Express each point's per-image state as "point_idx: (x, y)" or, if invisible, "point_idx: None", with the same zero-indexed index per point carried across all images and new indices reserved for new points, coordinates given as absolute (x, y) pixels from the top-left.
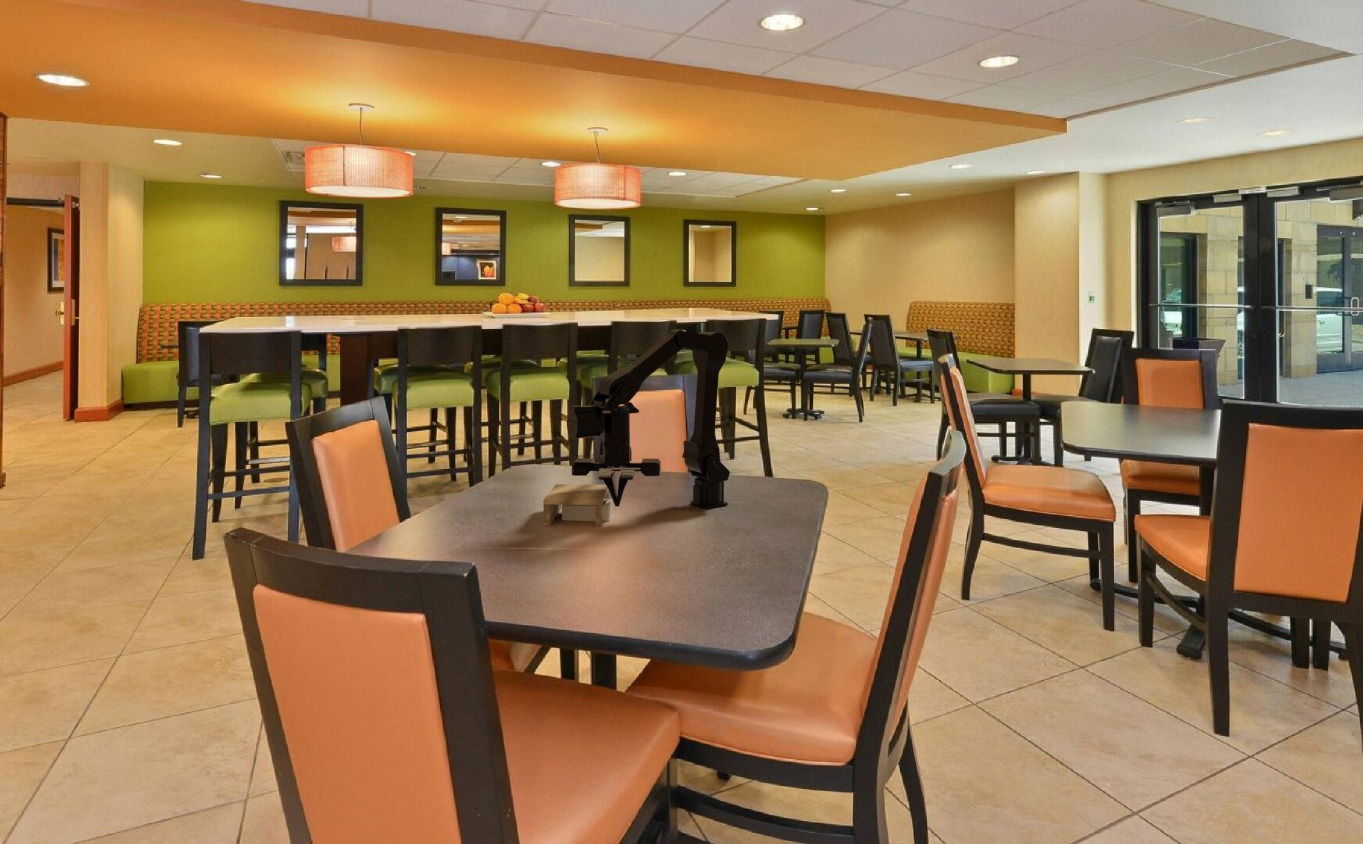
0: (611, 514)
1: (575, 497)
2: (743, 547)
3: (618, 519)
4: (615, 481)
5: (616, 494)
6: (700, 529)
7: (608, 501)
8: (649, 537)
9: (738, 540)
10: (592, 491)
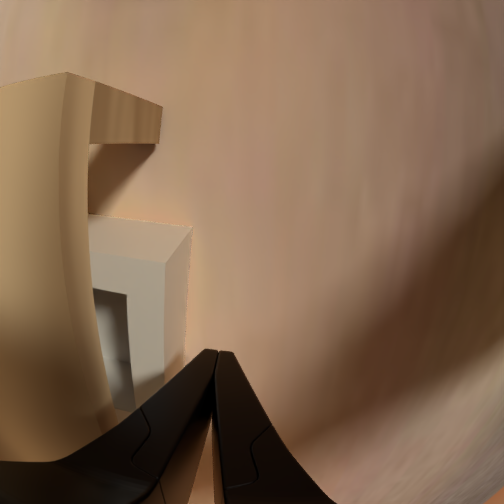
0: (185, 294)
1: (8, 456)
2: (474, 485)
3: (232, 343)
4: (157, 487)
5: (200, 429)
6: (484, 424)
7: (141, 339)
8: (330, 494)
9: (494, 462)
10: (6, 379)
